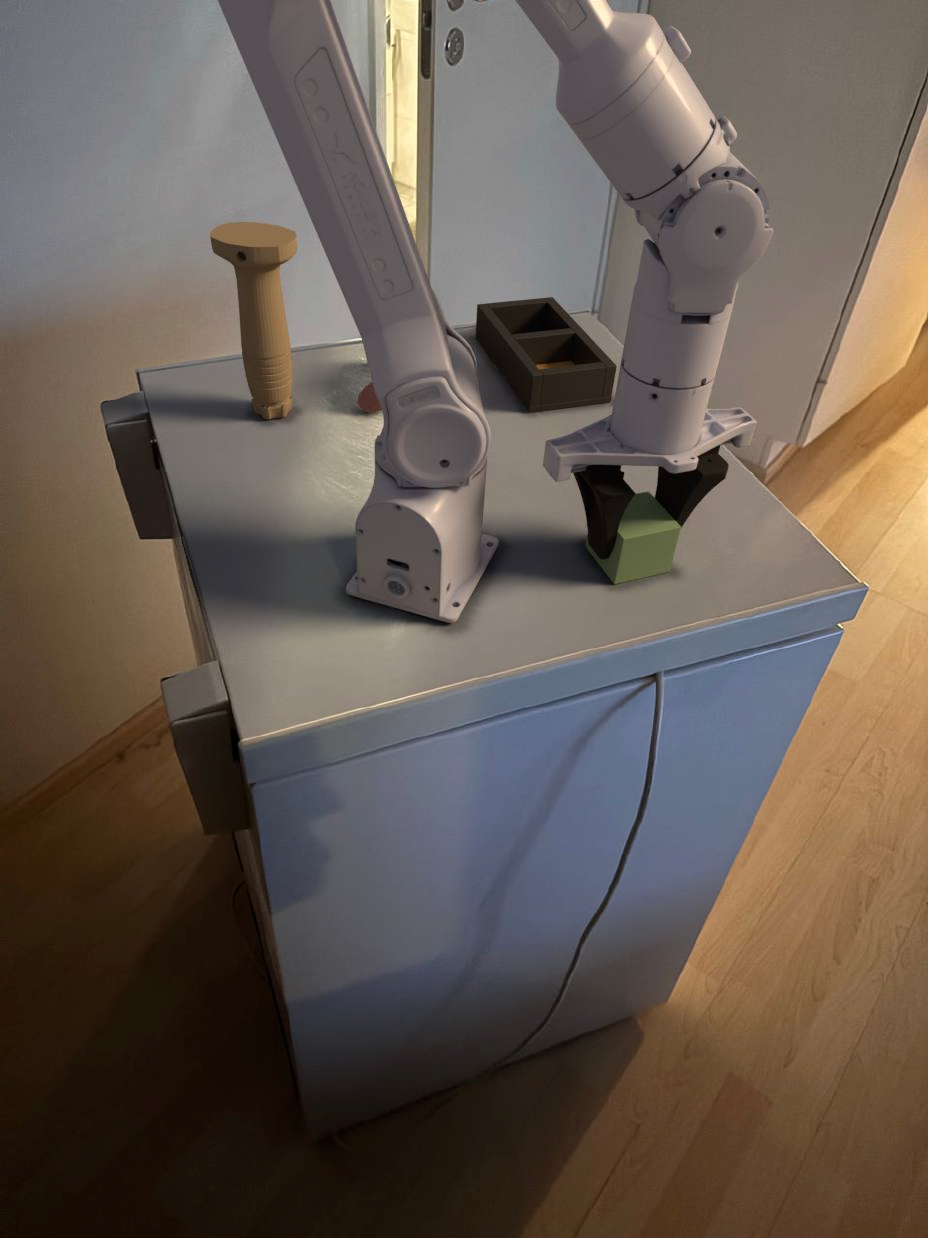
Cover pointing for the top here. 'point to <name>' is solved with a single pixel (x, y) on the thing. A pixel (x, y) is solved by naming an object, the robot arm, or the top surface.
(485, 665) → the top surface
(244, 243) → the handle
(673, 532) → the green cube
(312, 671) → the top surface
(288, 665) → the top surface
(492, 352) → the holder
